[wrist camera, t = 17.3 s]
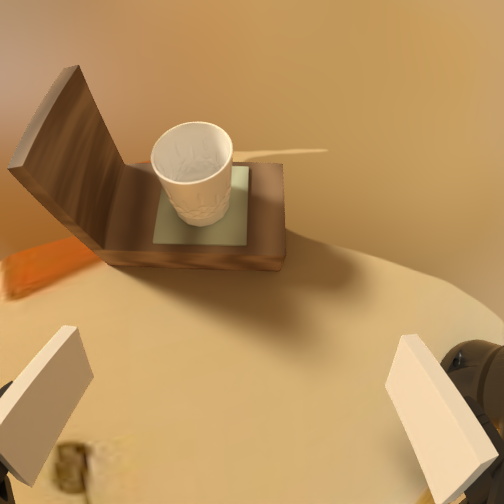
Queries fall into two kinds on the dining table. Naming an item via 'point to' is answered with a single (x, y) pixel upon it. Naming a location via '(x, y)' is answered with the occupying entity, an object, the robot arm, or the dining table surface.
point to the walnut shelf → (139, 194)
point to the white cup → (195, 171)
